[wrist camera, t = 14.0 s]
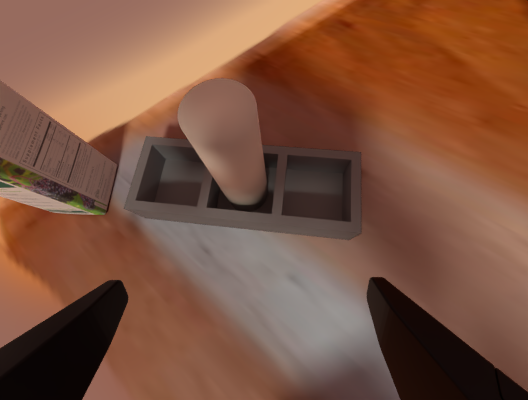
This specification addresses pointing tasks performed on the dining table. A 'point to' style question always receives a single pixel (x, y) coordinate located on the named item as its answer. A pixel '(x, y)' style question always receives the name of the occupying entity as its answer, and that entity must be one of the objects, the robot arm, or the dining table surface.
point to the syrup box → (49, 161)
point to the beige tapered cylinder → (227, 139)
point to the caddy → (278, 181)
